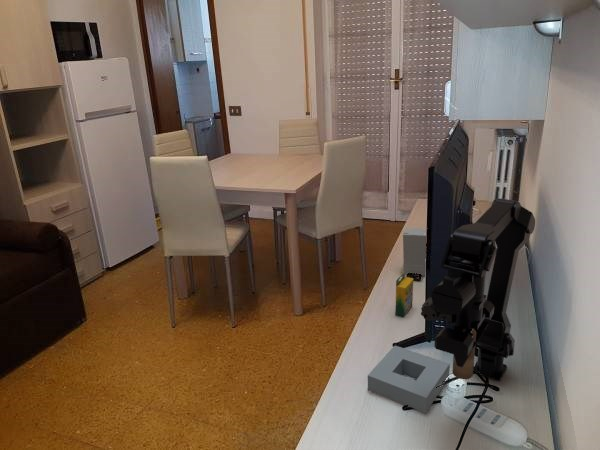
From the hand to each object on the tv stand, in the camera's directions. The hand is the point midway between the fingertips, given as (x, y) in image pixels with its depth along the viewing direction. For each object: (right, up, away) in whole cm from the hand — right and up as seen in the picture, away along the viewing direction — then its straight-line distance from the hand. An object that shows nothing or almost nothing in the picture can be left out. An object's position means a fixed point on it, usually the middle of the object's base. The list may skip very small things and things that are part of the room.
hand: (463, 360), depth 95 cm
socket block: (-8, -9, +14) cm, 18 cm away
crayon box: (-2, +1, +45) cm, 45 cm away
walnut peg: (0, -3, +1) cm, 3 cm away
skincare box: (+8, +11, +70) cm, 71 cm away
